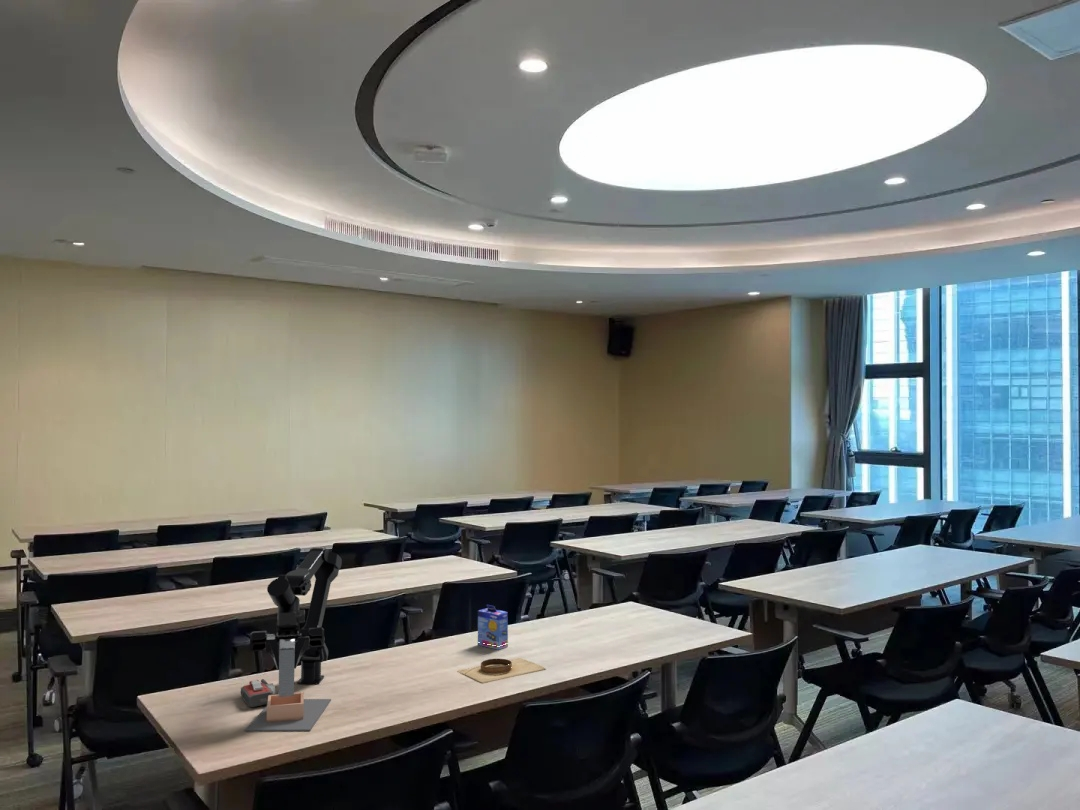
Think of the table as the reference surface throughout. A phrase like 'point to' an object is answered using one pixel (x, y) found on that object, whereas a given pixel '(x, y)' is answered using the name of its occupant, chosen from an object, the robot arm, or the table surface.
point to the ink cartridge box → (492, 627)
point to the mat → (310, 717)
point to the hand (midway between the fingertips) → (286, 668)
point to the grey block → (286, 667)
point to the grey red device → (257, 692)
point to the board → (500, 669)
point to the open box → (285, 707)
